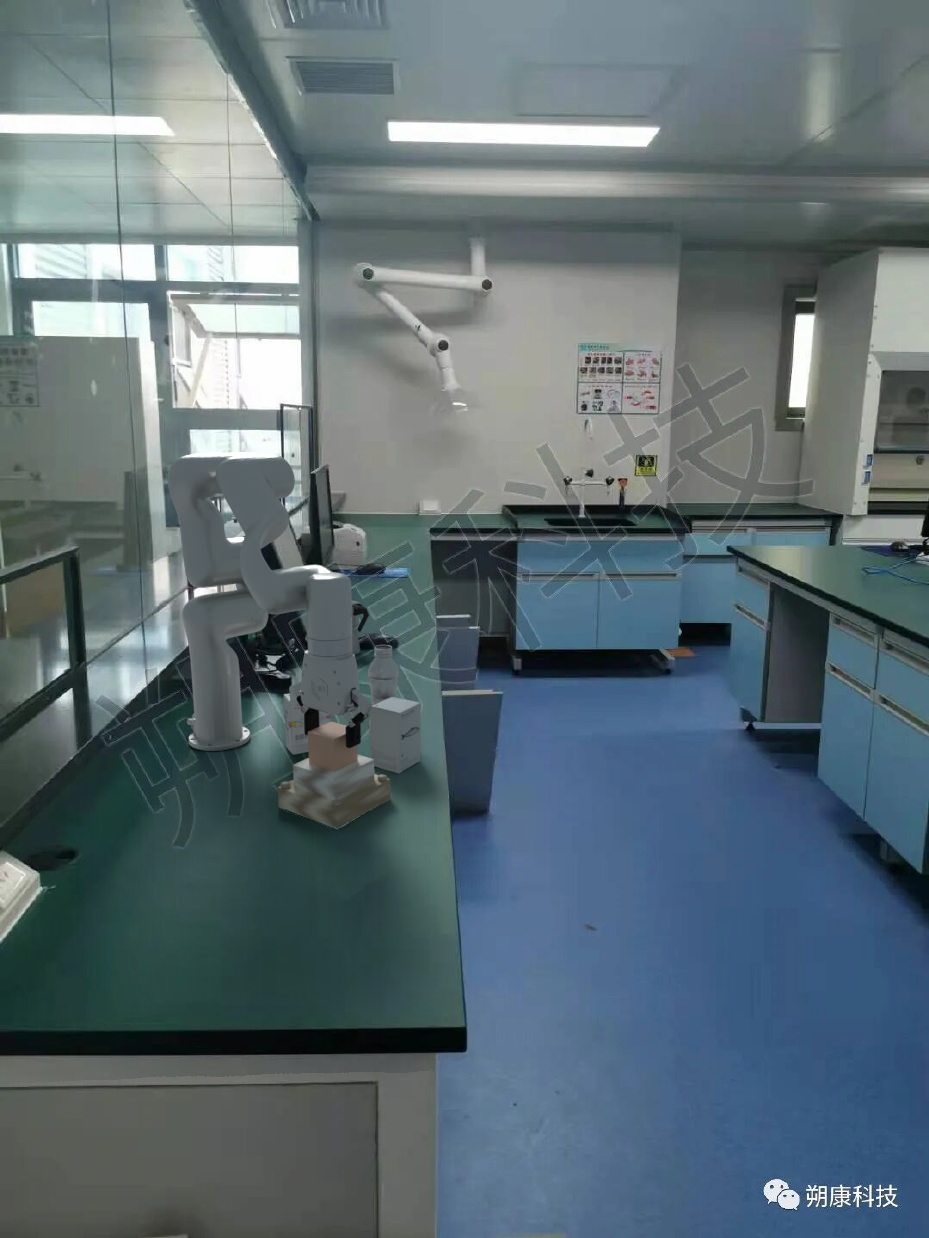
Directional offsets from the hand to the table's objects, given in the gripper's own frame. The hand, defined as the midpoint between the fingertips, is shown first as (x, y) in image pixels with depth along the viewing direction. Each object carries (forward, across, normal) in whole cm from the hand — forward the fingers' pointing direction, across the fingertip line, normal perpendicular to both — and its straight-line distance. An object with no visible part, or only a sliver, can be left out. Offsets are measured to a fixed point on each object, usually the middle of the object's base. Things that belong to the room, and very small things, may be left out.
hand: (332, 739), depth 147 cm
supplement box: (+13, -2, +20) cm, 24 cm away
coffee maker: (+13, -62, +74) cm, 97 cm away
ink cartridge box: (+13, -22, +16) cm, 30 cm away
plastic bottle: (+13, -13, +30) cm, 35 cm away
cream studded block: (+12, 0, 0) cm, 12 cm away
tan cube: (+4, 0, 0) cm, 4 cm away
